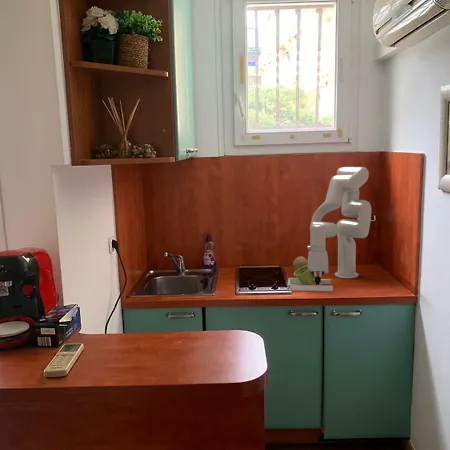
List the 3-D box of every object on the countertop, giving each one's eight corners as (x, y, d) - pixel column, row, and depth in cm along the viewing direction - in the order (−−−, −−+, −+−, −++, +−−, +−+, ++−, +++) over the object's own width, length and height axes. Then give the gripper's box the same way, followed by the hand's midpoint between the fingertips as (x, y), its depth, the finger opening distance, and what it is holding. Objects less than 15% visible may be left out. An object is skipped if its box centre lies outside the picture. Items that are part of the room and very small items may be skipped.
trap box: (288, 283, 246) (288, 278, 246) (330, 283, 243) (330, 278, 243) (288, 290, 233) (287, 284, 233) (332, 291, 230) (332, 285, 230)
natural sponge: (292, 271, 270) (292, 254, 269) (307, 271, 270) (307, 254, 269) (293, 275, 261) (293, 258, 260) (309, 275, 261) (309, 258, 260)
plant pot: (317, 285, 232) (309, 270, 231) (299, 291, 236) (292, 277, 234) (318, 277, 240) (311, 263, 239) (302, 283, 244) (294, 269, 243)
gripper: (303, 250, 231) (303, 285, 234) (333, 250, 230) (333, 286, 232) (302, 247, 239) (302, 281, 241) (332, 247, 237) (331, 282, 240)
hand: (317, 283), depth 237 cm, fingers closed
